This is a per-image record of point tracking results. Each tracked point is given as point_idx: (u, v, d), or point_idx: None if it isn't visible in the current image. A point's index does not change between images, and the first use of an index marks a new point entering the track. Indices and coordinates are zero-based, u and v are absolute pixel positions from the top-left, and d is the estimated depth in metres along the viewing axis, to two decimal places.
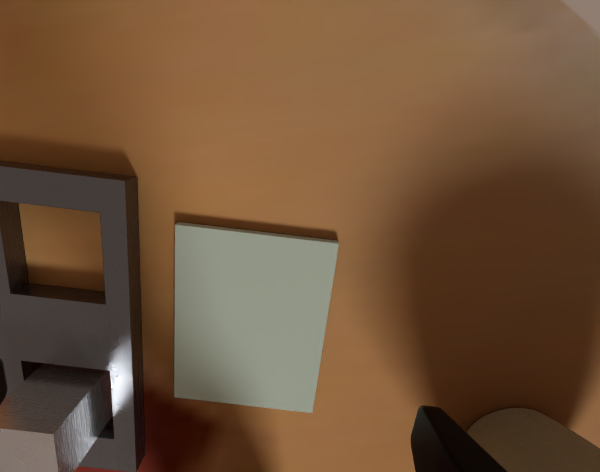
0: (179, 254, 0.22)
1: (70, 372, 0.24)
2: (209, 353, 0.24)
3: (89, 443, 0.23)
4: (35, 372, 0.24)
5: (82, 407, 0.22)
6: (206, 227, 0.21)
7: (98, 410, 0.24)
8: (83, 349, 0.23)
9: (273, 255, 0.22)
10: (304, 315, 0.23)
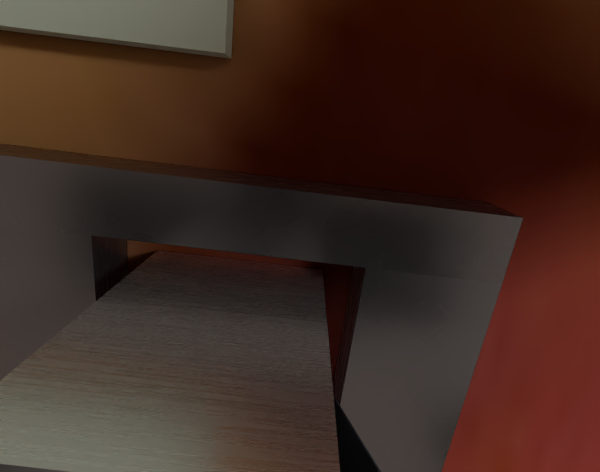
0: None
1: None
2: None
3: (303, 334, 0.06)
4: None
5: (110, 324, 0.06)
6: None
7: (232, 294, 0.07)
8: (34, 295, 0.08)
9: None
10: None
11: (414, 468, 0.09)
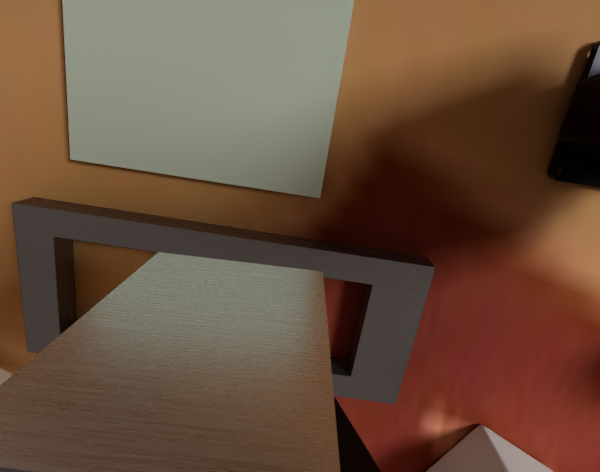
0: (107, 159, 0.18)
1: None
2: (247, 138, 0.17)
3: (303, 337, 0.06)
4: None
5: (111, 326, 0.06)
6: None
7: (233, 296, 0.07)
8: None
9: (90, 30, 0.16)
10: None
11: (390, 375, 0.20)
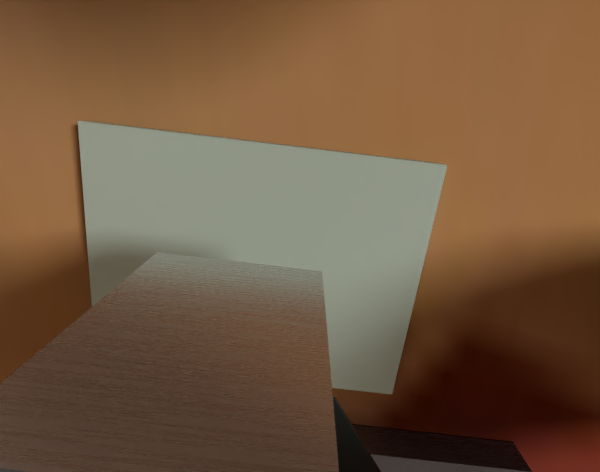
0: None
1: None
2: None
3: (302, 336, 0.06)
4: None
5: (110, 326, 0.06)
6: None
7: (231, 295, 0.07)
8: None
9: (118, 231, 0.13)
10: (223, 181, 0.13)
11: None
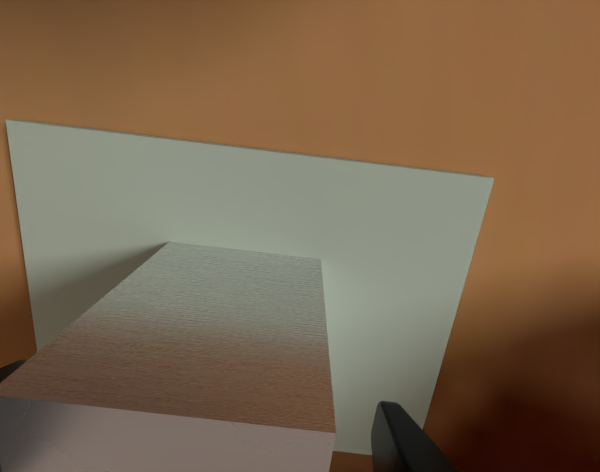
0: None
1: None
2: None
3: (303, 311, 0.07)
4: None
5: (134, 301, 0.07)
6: None
7: (239, 278, 0.08)
8: None
9: (66, 262, 0.10)
10: (199, 198, 0.10)
11: None
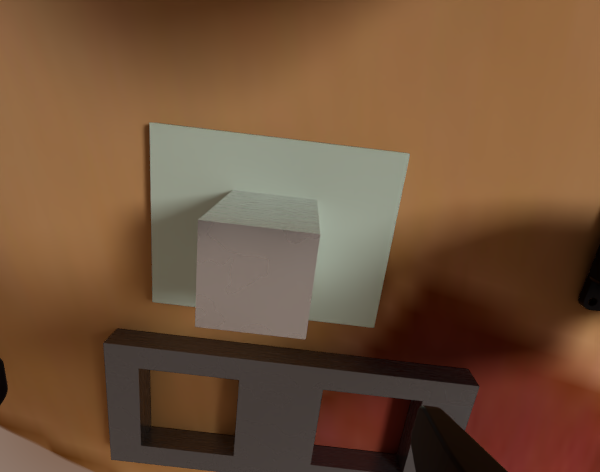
0: (185, 301, 0.20)
1: None
2: None
3: (308, 213, 0.15)
4: None
5: (230, 205, 0.15)
6: None
7: (275, 203, 0.16)
8: (296, 408, 0.21)
9: (174, 202, 0.18)
10: (251, 165, 0.18)
11: None
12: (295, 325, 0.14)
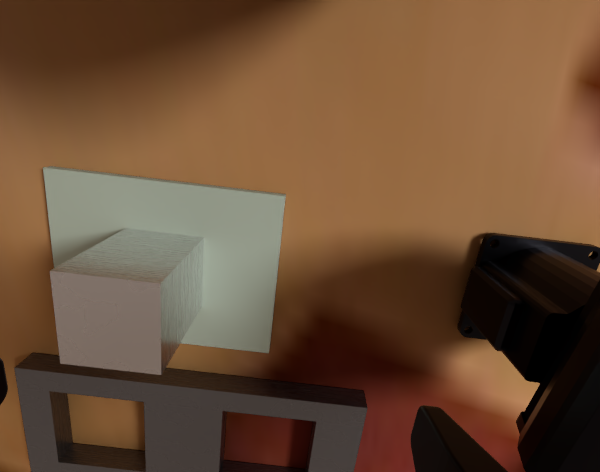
0: None
1: None
2: (205, 311, 0.21)
3: (175, 256, 0.17)
4: None
5: (101, 250, 0.16)
6: None
7: (154, 244, 0.18)
8: (199, 428, 0.23)
9: (72, 239, 0.20)
10: (140, 206, 0.19)
11: None
12: (149, 362, 0.15)
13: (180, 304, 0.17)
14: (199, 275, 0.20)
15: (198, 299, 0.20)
